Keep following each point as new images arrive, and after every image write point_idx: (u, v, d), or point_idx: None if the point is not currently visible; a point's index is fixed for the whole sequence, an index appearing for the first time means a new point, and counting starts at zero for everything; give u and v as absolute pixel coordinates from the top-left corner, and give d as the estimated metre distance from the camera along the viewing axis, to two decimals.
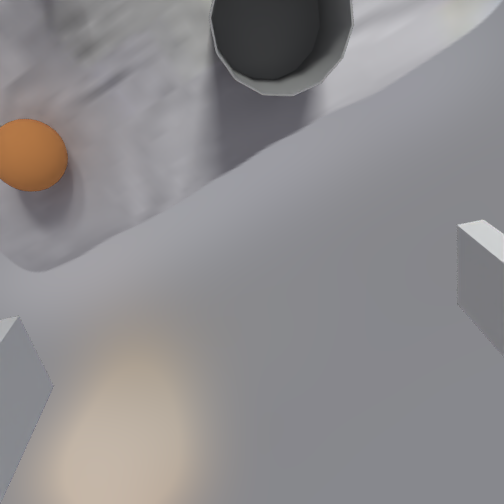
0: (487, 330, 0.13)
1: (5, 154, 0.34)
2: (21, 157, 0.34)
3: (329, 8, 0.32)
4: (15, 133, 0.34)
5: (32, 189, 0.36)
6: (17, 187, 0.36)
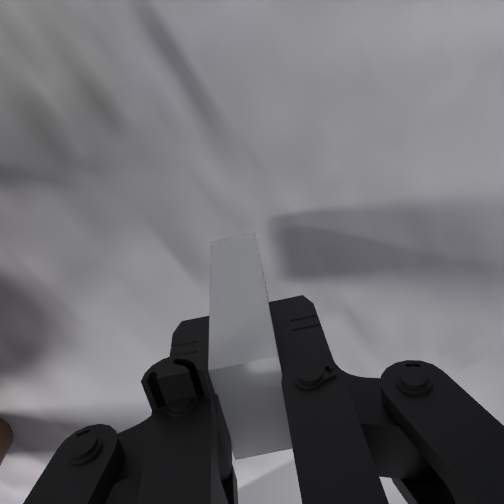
0: None
1: None
2: None
3: None
4: None
5: None
6: None
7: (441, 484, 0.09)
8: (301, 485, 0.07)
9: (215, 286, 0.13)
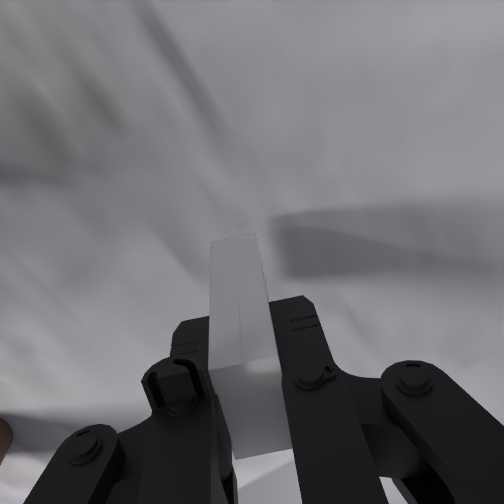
0: None
1: None
2: None
3: None
4: None
5: None
6: None
7: (441, 484, 0.09)
8: (301, 485, 0.07)
9: (215, 286, 0.13)
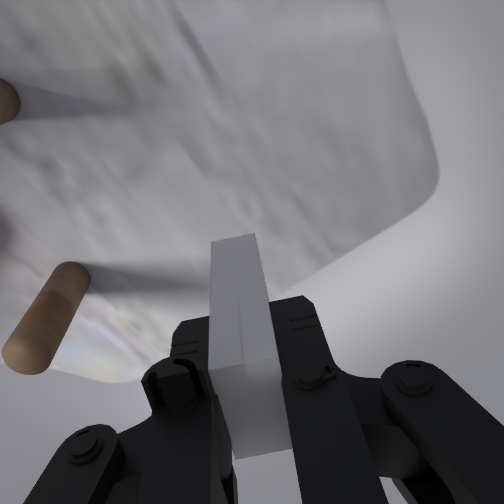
0: None
1: None
2: None
3: None
4: None
5: None
6: None
7: (441, 484, 0.09)
8: (301, 485, 0.07)
9: (215, 286, 0.13)
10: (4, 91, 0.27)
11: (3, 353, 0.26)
